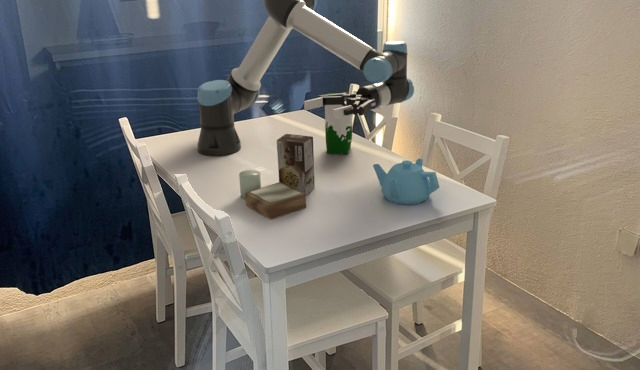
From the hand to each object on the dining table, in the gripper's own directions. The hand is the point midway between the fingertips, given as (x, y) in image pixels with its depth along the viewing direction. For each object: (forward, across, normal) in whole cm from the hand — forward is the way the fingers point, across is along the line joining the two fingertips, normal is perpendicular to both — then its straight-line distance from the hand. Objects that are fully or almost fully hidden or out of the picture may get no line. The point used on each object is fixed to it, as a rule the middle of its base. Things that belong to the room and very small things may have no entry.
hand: (318, 109), depth 185 cm
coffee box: (+9, 0, -23) cm, 25 cm away
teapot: (-11, -25, -23) cm, 36 cm away
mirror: (+21, -6, -22) cm, 32 cm away
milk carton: (-22, +19, -23) cm, 37 cm away
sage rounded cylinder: (+22, +5, -22) cm, 32 cm away
